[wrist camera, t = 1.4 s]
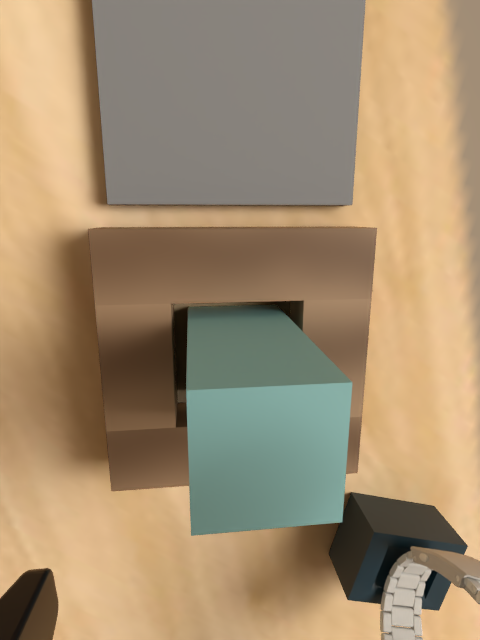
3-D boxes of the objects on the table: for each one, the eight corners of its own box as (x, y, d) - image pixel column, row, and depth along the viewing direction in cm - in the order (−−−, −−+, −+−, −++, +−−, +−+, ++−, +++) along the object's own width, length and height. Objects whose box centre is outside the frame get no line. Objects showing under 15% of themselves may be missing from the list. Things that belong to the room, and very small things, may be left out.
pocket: (340, 446, 23) (357, 472, 21) (120, 460, 22) (111, 491, 19) (354, 226, 20) (376, 227, 18) (101, 227, 19) (88, 229, 16)
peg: (274, 386, 22) (342, 521, 12) (190, 390, 21) (191, 535, 11) (276, 304, 21) (352, 382, 11) (187, 306, 20) (186, 390, 10)
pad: (345, 205, 20) (352, 205, 19) (110, 204, 18) (107, 204, 18) (360, -41, 17) (368, -53, 16) (91, -61, 16) (86, -76, 15)
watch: (318, 580, 25) (412, 844, 15) (360, 465, 23) (501, 671, 13) (400, 589, 26) (543, 845, 16) (446, 481, 24) (642, 683, 14)
